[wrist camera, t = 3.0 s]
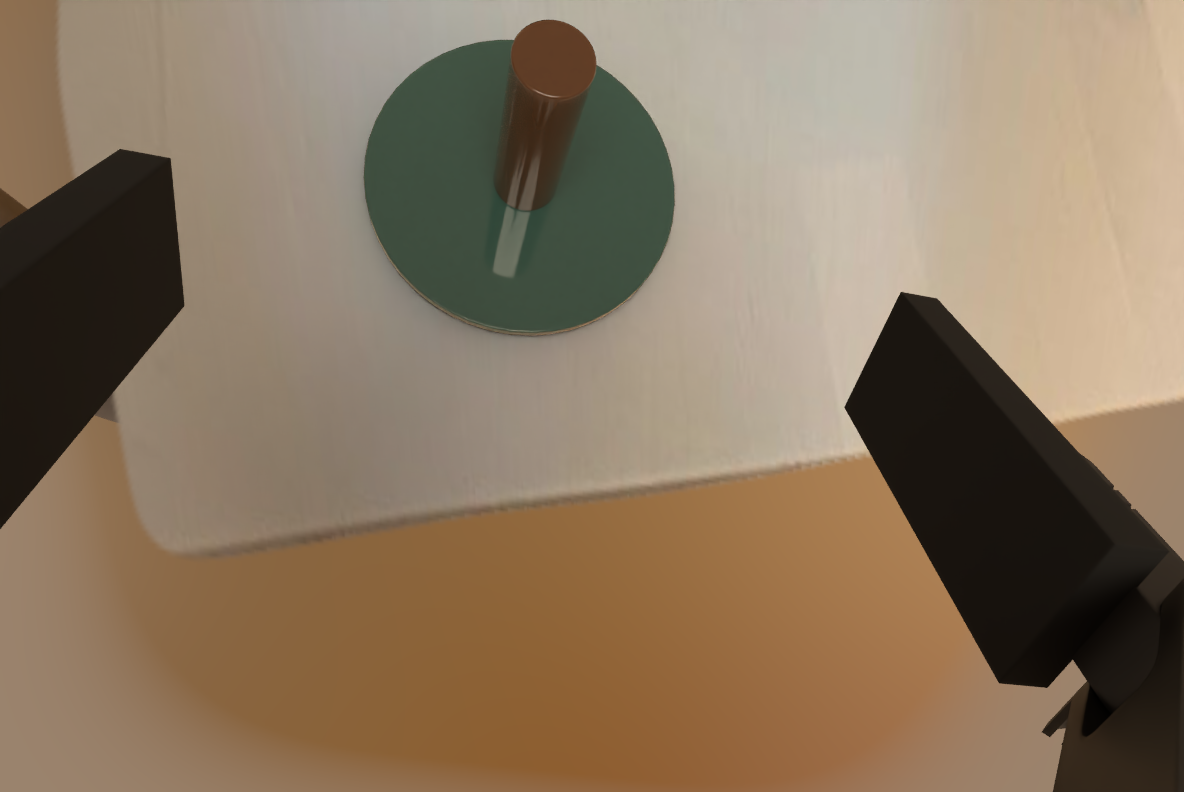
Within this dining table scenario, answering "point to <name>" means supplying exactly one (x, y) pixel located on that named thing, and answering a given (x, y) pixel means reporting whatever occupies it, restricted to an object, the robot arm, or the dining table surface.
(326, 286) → the dining table surface
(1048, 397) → the dining table surface
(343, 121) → the dining table surface
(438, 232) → the jar lid
